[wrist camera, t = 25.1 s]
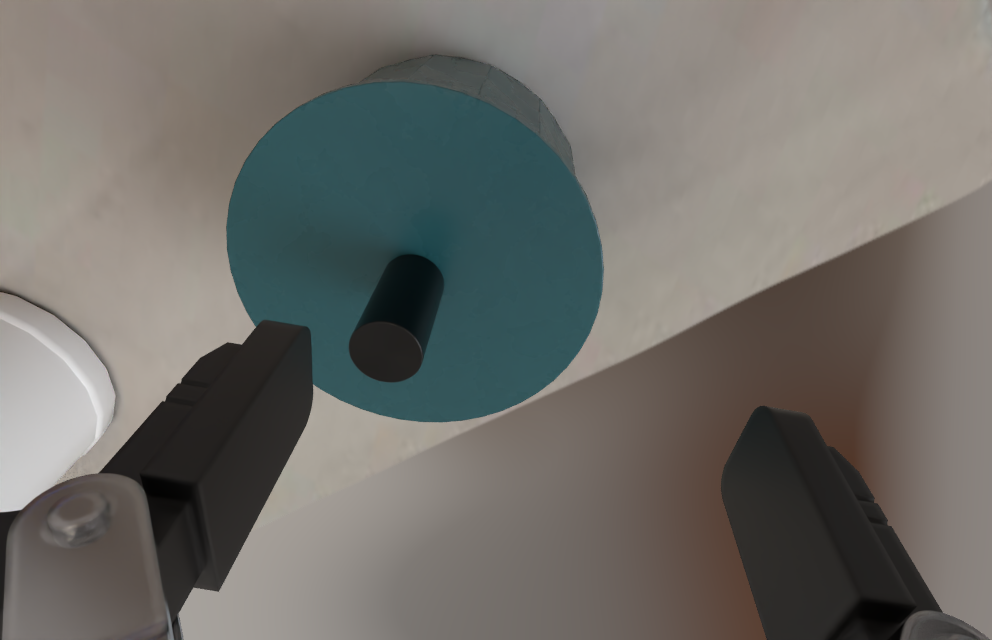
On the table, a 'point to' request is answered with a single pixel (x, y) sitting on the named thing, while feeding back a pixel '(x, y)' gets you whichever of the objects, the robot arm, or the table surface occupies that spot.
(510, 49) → the table surface
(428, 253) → the lid
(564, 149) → the tin
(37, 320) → the bottle
